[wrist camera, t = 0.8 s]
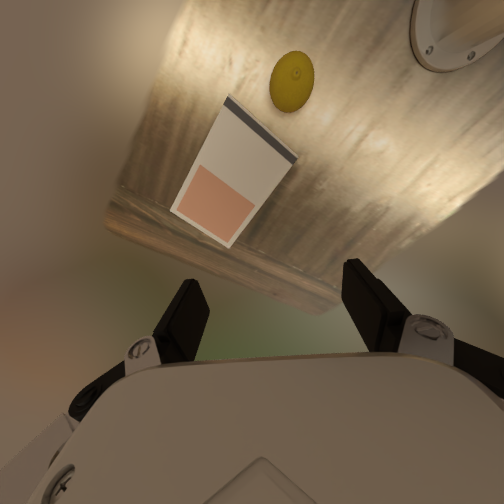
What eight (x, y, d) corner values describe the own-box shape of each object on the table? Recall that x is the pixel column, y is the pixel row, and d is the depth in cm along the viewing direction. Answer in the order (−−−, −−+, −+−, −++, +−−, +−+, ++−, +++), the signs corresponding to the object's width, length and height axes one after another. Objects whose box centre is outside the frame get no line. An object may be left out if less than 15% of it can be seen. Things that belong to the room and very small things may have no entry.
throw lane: (229, 93, 27) (228, 93, 26) (298, 156, 30) (299, 156, 30) (170, 210, 36) (169, 210, 35) (229, 248, 39) (228, 248, 39)
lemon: (285, 126, 28) (293, 116, 21) (260, 95, 27) (260, 74, 20) (313, 92, 26) (333, 70, 19) (288, 57, 25) (300, 18, 18)
